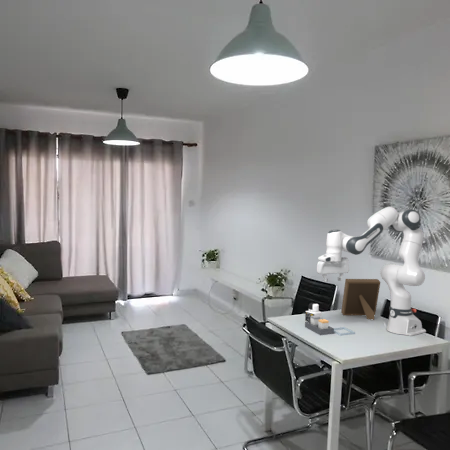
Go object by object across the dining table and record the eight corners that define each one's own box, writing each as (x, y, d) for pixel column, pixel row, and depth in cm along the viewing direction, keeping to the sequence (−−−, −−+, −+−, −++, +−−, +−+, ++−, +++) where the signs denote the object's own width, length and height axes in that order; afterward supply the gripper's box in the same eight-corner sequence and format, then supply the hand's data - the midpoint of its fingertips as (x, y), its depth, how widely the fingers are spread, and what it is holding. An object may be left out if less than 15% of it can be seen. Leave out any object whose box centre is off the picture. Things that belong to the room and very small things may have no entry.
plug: (324, 330, 242) (324, 318, 241) (328, 333, 238) (328, 320, 237) (318, 331, 240) (318, 319, 240) (322, 333, 236) (322, 321, 236)
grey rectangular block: (316, 326, 249) (316, 315, 249) (320, 328, 245) (320, 317, 245) (310, 327, 248) (310, 315, 247) (314, 329, 244) (314, 317, 243)
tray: (344, 330, 247) (344, 327, 246) (355, 335, 237) (355, 332, 237) (329, 332, 243) (329, 328, 243) (340, 337, 234) (340, 333, 234)
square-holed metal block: (304, 328, 249) (305, 321, 248) (317, 327, 252) (318, 320, 252) (320, 337, 234) (320, 329, 233) (333, 335, 237) (333, 328, 237)
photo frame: (341, 313, 283) (342, 277, 281) (372, 313, 285) (374, 277, 283) (348, 320, 268) (350, 281, 266) (381, 320, 270) (383, 282, 268)
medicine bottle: (304, 322, 262) (305, 303, 261) (312, 320, 266) (313, 301, 265) (313, 325, 256) (314, 305, 255) (321, 323, 260) (322, 304, 260)
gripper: (345, 256, 251) (344, 279, 252) (315, 257, 244) (314, 280, 244) (351, 257, 245) (350, 281, 246) (321, 258, 238) (321, 283, 239)
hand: (332, 281), depth 245 cm, fingers open, 8 cm apart
